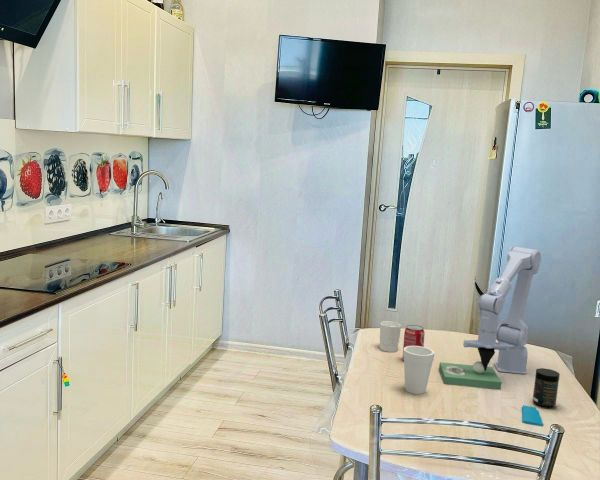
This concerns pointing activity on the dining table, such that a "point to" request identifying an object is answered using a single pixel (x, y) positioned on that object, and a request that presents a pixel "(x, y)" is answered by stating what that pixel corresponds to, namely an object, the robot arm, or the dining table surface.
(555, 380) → the supplement container
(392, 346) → the white cup
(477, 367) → the ball
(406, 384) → the foam cup
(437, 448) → the dining table surface
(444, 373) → the putting mat
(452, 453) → the dining table surface
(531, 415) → the sponge
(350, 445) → the dining table surface
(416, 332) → the soda can
